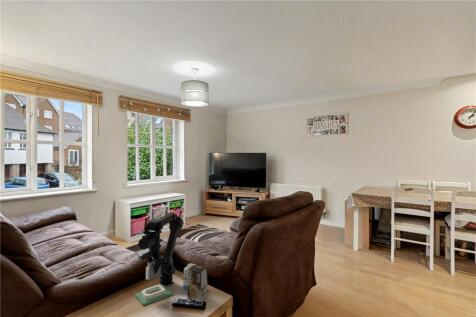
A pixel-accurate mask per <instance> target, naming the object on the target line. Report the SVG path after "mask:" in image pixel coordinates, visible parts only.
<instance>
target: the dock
mask: <svg viewBox="0 0 476 317" xmlns="http://www.w3.org/2000/svg"><path fill="white" fill-rule="evenodd" d="M171 296H173V292H172V291H171V290H170V289H169V288H168V287H167V286H164V285H161V284H160V283H159V284H156V285H154V286H151V287H148V288H145V289H142V290H141V291H140V292H137V293H135V294H134V297H136V299H137V300H138V302H139V303H140V304H141V305H142V306H143V307H145V306H147V305H149V304H152V303H155V302H158V301H160V300H163V299H165V298H168V297H171Z"/></svg>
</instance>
